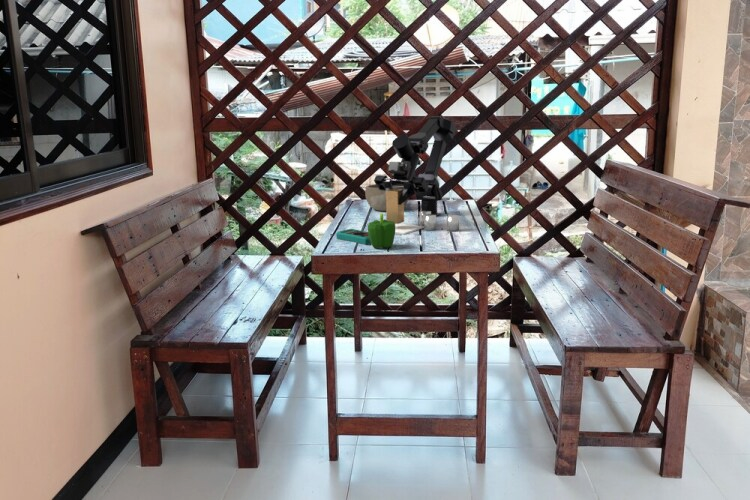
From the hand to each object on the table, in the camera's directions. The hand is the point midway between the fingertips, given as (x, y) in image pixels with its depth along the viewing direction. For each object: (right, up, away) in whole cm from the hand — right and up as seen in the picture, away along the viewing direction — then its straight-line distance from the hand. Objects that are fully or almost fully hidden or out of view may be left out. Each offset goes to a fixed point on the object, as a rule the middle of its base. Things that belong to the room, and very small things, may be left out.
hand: (393, 203), depth 219 cm
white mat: (+1, -8, +4) cm, 9 cm away
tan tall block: (+1, -6, +3) cm, 7 cm away
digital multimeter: (-11, -13, -10) cm, 20 cm away
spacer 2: (+13, -9, +1) cm, 15 cm away
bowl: (-1, 0, +42) cm, 42 cm away
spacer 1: (+12, -7, +8) cm, 16 cm away
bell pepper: (-4, -15, -21) cm, 26 cm away
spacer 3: (+20, -9, -1) cm, 22 cm away
